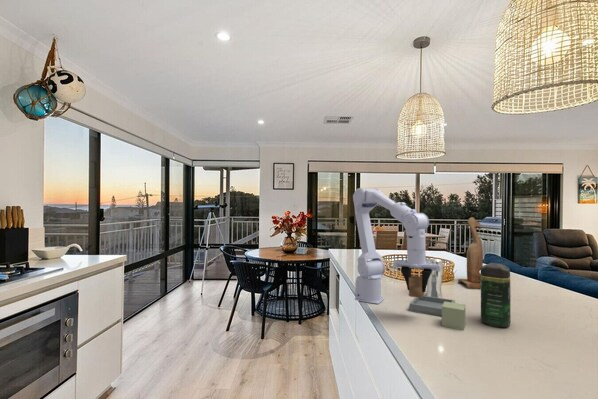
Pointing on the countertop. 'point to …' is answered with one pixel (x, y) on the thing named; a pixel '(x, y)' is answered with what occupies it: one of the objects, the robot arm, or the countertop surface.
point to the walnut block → (415, 286)
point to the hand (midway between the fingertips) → (416, 290)
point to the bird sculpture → (474, 258)
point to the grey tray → (428, 305)
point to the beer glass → (435, 280)
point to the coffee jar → (495, 295)
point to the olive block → (453, 315)
